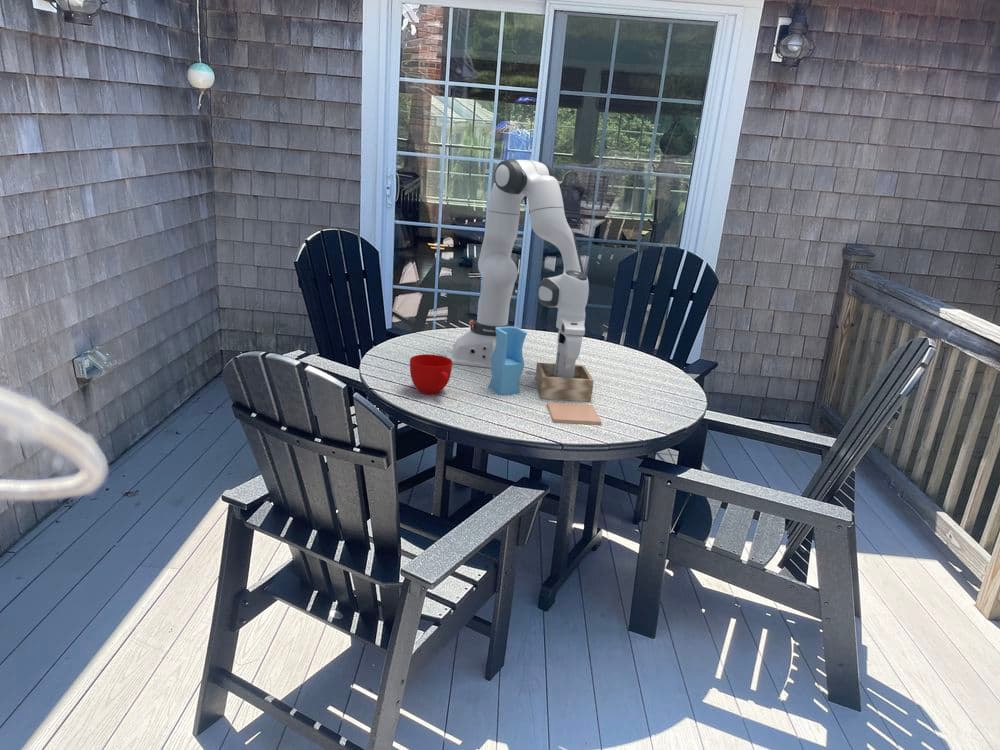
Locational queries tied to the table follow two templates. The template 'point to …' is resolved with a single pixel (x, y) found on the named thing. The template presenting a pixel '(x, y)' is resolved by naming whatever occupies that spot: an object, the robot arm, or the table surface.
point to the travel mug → (563, 361)
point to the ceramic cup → (430, 372)
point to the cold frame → (563, 383)
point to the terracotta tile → (573, 413)
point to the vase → (507, 360)
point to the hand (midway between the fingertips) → (565, 364)
